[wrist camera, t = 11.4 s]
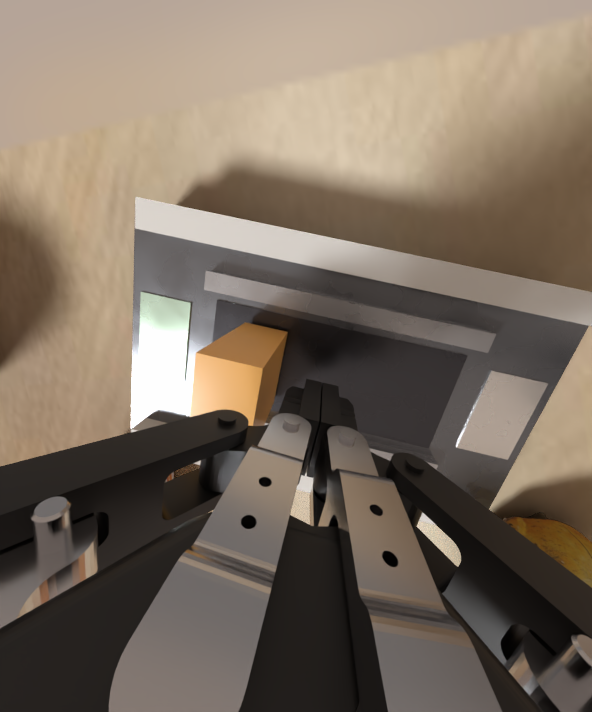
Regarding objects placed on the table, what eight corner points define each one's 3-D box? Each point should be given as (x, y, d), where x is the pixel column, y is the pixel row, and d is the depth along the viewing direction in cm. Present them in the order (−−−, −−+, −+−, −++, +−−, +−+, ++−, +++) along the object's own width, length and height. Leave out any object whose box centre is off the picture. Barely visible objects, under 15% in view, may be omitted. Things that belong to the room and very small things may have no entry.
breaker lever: (287, 331, 15) (262, 368, 9) (273, 402, 16) (244, 471, 11) (245, 322, 15) (195, 352, 10) (235, 393, 17) (186, 456, 11)
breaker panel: (554, 296, 16) (618, 303, 13) (462, 483, 21) (490, 528, 17) (166, 215, 17) (124, 200, 14) (156, 408, 22) (122, 435, 18)
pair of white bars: (582, 293, 13) (611, 295, 12) (467, 516, 18) (478, 535, 17) (153, 203, 14) (135, 196, 13) (144, 435, 19) (130, 447, 18)
